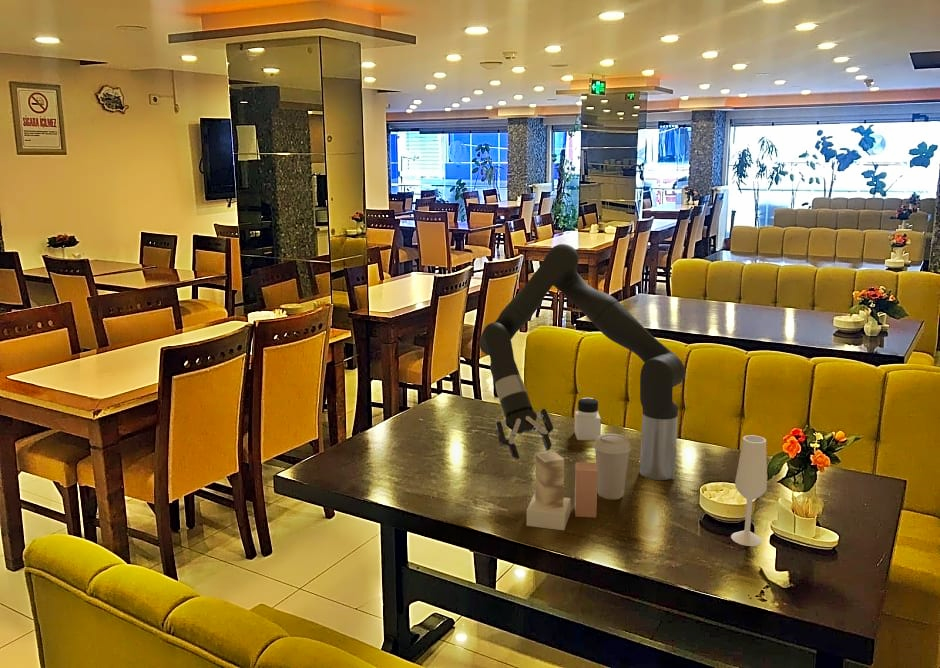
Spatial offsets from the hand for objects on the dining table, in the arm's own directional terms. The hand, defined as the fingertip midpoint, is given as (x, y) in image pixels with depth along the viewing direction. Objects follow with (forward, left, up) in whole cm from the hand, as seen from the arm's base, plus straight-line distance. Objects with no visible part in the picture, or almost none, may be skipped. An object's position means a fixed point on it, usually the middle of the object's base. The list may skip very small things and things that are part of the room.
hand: (533, 454), depth 196 cm
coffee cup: (-20, -5, -11) cm, 23 cm away
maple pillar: (-7, +13, -7) cm, 16 cm away
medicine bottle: (-9, -45, -11) cm, 47 cm away
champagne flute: (-52, +11, -11) cm, 54 cm away
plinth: (-7, +13, -11) cm, 18 cm away
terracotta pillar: (-15, +7, -11) cm, 20 cm away
